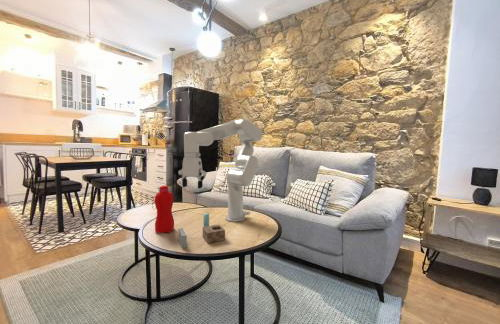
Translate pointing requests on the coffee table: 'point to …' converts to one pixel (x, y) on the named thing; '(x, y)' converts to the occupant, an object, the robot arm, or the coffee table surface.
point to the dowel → (206, 219)
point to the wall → (182, 238)
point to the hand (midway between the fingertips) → (192, 187)
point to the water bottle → (164, 210)
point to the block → (213, 233)
